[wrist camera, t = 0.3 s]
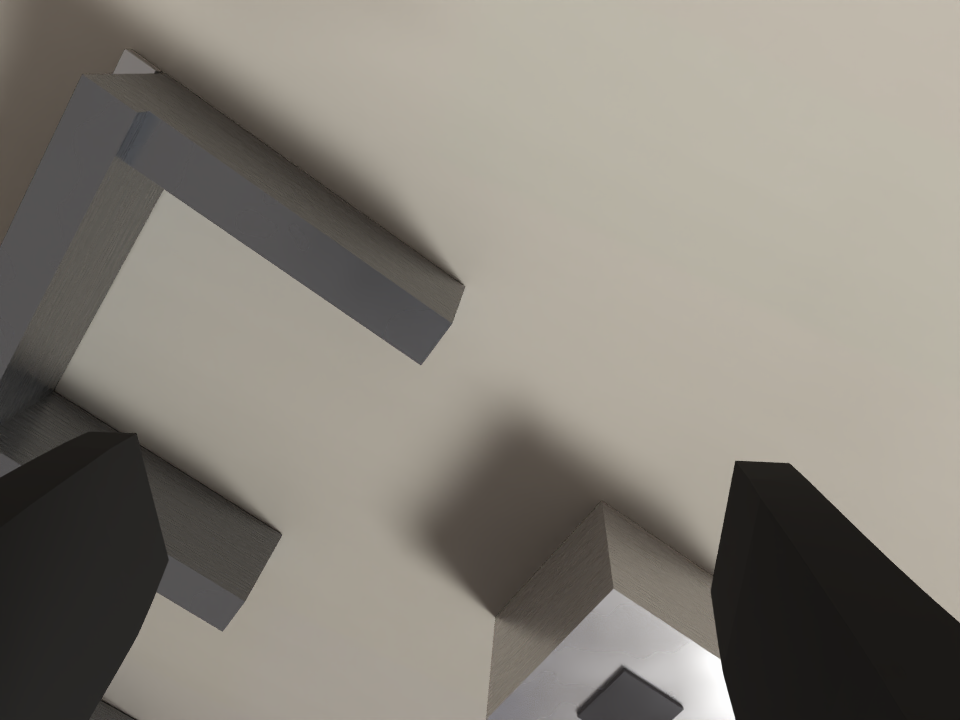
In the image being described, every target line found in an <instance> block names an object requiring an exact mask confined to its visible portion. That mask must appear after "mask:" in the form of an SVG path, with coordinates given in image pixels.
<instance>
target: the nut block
mask: <svg viewBox="0 0 960 720" xmlns="http://www.w3.org/2000/svg"><path fill="white" fill-rule="evenodd" d="M712 580H713V576H712V575H711V574H709V573H708V572H706V571H705V570H703V569H702V568H700V567H699V566H697V565H696V564H695V563H693V562H692V561H690V560H689V559H687V558H686V557H684V556H683V555H681V554H680V553H678V552H677V551H675V550H674V549H672V548H671V547H670V546H668V545H667V544H665V543H664V542H662V541H661V540H659V539H658V538H656V537H655V536H653V535H652V534H650V533H649V532H647V531H646V530H645V529H643V528H642V527H640V526H639V525H637V524H636V523H634V522H633V521H631V520H630V519H628V518H627V517H625V516H624V515H622V514H621V513H620V512H618V511H617V510H615V509H614V508H612V507H611V506H609V505H608V504H606V503H605V502H603V501H601V502H600V503H599V504H598V505H597V506H596V508H595V509H594V510H593V511H592V512H591V513H590V514H589V515H588V516H587V517H586V518H585V520H584V521H583V522H582V523H581V524H580V525H579V526H578V527H577V528H576V529H575V531H574V532H573V533H572V534H571V535H570V536H569V537H568V538H567V539H566V540H565V542H564V543H563V544H562V545H561V546H560V547H559V548H558V549H557V550H556V551H555V552H554V554H553V555H552V556H551V557H550V558H549V559H548V560H547V561H546V562H545V563H544V565H543V566H542V567H541V568H540V569H539V570H538V571H537V572H536V573H535V574H534V575H533V577H532V578H531V579H530V580H529V581H528V582H527V583H526V584H525V585H524V586H523V588H522V589H521V590H520V591H519V592H518V593H517V594H516V595H515V596H514V597H513V599H512V600H511V601H510V602H509V603H508V604H507V605H506V606H505V607H504V608H503V609H502V611H501V612H500V613H499V614H498V615H497V616H496V617H495V626H494V637H493V648H492V660H491V671H490V682H489V693H488V704H487V715H486V720H735V716H734V713H733V709H732V705H731V702H730V698H729V694H728V691H727V687H726V683H725V679H724V675H723V671H722V665H721V659H720V653H719V647H718V640H717V634H716V627H715V620H714V613H713V606H712V599H711V586H712Z"/></svg>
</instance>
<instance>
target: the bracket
mask: <svg viewBox="0 0 960 720" xmlns="http://www.w3.org/2000/svg"><path fill="white" fill-rule="evenodd" d="M163 189H165V190H166V191H168V192H169V193H171V194H172V195H174V196H175V197H176V198H178V199H179V200H181V201H182V202H184V203H185V204H187V205H188V206H190V207H191V208H192V209H194V210H195V211H197V212H198V213H200V214H201V215H203V216H204V217H206V218H207V219H208V220H210V221H211V222H213V223H214V224H216V225H217V226H219V227H220V228H222V229H223V230H225V231H226V232H227V233H229V234H230V235H232V236H233V237H235V238H236V239H238V240H239V241H241V242H242V243H243V244H245V245H246V246H248V247H249V248H251V249H252V250H254V251H255V252H257V253H258V254H259V255H261V256H262V257H264V258H265V259H267V260H268V261H270V262H271V263H273V264H274V265H275V266H277V267H278V268H280V269H281V270H283V271H284V272H286V273H287V274H289V275H290V276H292V277H293V278H294V279H296V280H297V281H299V282H300V283H302V284H303V285H305V286H306V287H308V288H309V289H310V290H312V291H313V292H315V293H316V294H318V295H319V296H321V297H322V298H324V299H325V300H326V301H328V302H329V303H331V304H332V305H334V306H335V307H337V308H338V309H340V310H341V311H342V312H344V313H345V314H347V315H348V316H350V317H351V318H353V319H354V320H356V321H357V322H359V323H360V324H361V325H363V326H364V327H366V328H367V329H369V330H370V331H372V332H373V333H375V334H376V335H377V336H379V337H380V338H382V339H383V340H385V341H386V342H388V343H389V344H391V345H392V346H393V347H395V348H396V349H398V350H399V351H401V352H402V353H404V354H405V355H407V356H408V357H409V358H411V359H412V360H414V361H415V362H417V363H418V364H420V365H422V363H423V362H424V361H425V359H426V358H427V357H428V355H429V354H430V353H431V351H432V350H433V349H434V347H435V346H436V345H437V343H438V342H439V340H440V339H441V338H442V336H443V335H444V334H445V332H446V331H447V330H448V328H449V327H450V326H451V324H452V322H453V320H454V317H455V314H456V311H457V308H458V306H459V303H460V300H461V297H462V294H463V292H464V289H465V286H463V285H462V284H461V283H459V282H458V281H456V280H455V279H454V278H452V277H451V276H449V275H448V274H447V273H445V272H444V271H442V270H441V269H440V268H438V267H437V266H435V265H434V264H433V263H431V262H430V261H428V260H427V259H425V258H424V257H423V256H421V255H420V254H418V253H417V252H416V251H414V250H413V249H411V248H410V247H409V246H407V245H406V244H404V243H403V242H402V241H400V240H399V239H397V238H396V237H395V236H393V235H392V234H390V233H389V232H388V231H386V230H385V229H383V228H382V227H381V226H379V225H378V224H376V223H375V222H374V221H372V220H371V219H369V218H368V217H366V216H365V215H364V214H362V213H361V212H359V211H358V210H357V209H355V208H354V207H352V206H351V205H350V204H348V203H347V202H345V201H344V200H343V199H341V198H340V197H338V196H337V195H336V194H334V193H333V192H331V191H330V190H329V189H327V188H326V187H324V186H323V185H322V184H320V183H319V182H317V181H316V180H314V179H313V178H312V177H310V176H309V175H307V174H306V173H305V172H303V171H302V170H300V169H299V168H298V167H296V166H295V165H293V164H292V163H291V162H289V161H288V160H286V159H285V158H284V157H282V156H281V155H279V154H278V153H277V152H275V151H274V150H272V149H271V148H270V147H268V146H267V145H265V144H264V143H262V142H261V141H260V140H258V139H257V138H255V137H254V136H253V135H251V134H250V133H248V132H247V131H246V130H244V129H243V128H241V127H240V126H239V125H237V124H236V123H234V122H233V121H232V120H230V119H229V118H227V117H226V116H225V115H223V114H222V113H220V112H219V111H218V110H216V109H215V108H213V107H212V106H211V105H209V104H208V103H206V102H205V101H203V100H202V99H201V98H199V97H198V96H196V95H195V94H194V93H192V92H191V91H189V90H188V89H187V88H185V87H184V86H182V85H181V84H180V83H178V82H177V81H175V80H174V79H173V78H171V77H170V76H168V75H167V74H166V73H161V70H160V69H159V68H157V67H156V66H154V65H153V64H151V63H150V62H149V61H147V60H146V59H144V58H143V57H142V56H140V55H139V54H137V53H136V52H135V51H133V50H132V49H125V50H124V52H123V54H122V56H121V58H120V60H119V62H118V64H117V66H116V68H115V70H114V72H113V74H82V76H81V78H80V80H79V82H78V84H77V86H76V88H75V91H74V93H73V95H72V97H71V99H70V101H69V103H68V105H67V107H66V109H65V112H64V114H63V116H62V118H61V120H60V122H59V124H58V126H57V128H56V131H55V133H54V135H53V137H52V139H51V141H50V143H49V145H48V147H47V149H46V152H45V154H44V156H43V158H42V160H41V162H40V164H39V166H38V168H37V170H36V173H35V175H34V177H33V179H32V181H31V183H30V185H29V187H28V189H27V191H26V194H25V196H24V198H23V200H22V202H21V204H20V206H19V208H18V210H17V213H16V215H15V217H14V219H13V221H12V223H11V225H10V227H9V229H8V231H7V234H6V236H5V238H4V240H3V242H2V244H1V246H0V477H2V476H4V475H5V474H7V473H9V472H11V471H13V470H15V469H16V468H18V467H20V466H22V465H24V464H25V463H27V462H29V461H31V460H33V459H35V458H36V457H38V456H40V455H42V454H44V453H46V452H48V451H50V450H51V449H53V448H55V447H57V446H59V445H61V444H63V443H65V442H67V441H69V440H71V439H74V438H76V437H78V436H80V435H82V434H85V433H87V432H111V433H119V432H118V431H116V430H114V429H113V428H111V427H110V426H108V425H106V424H105V423H103V422H102V421H100V420H98V419H97V418H95V417H94V416H92V415H91V414H89V413H87V412H86V411H84V410H83V409H81V408H79V407H78V406H76V405H75V404H73V403H71V402H70V401H68V400H67V399H65V398H63V397H62V396H60V395H59V394H57V393H55V392H54V389H55V387H56V385H57V384H58V382H59V380H60V378H61V376H62V374H63V373H64V371H65V369H66V367H67V365H68V363H69V362H70V360H71V358H72V356H73V354H74V352H75V351H76V349H77V347H78V345H79V343H80V341H81V340H82V338H83V336H84V334H85V332H86V330H87V329H88V327H89V325H90V323H91V321H92V319H93V318H94V316H95V314H96V312H97V310H98V308H99V307H100V305H101V303H102V301H103V299H104V297H105V296H106V294H107V292H108V290H109V288H110V286H111V285H112V283H113V281H114V279H115V277H116V275H117V274H118V272H119V270H120V268H121V266H122V264H123V263H124V261H125V259H126V257H127V255H128V253H129V252H130V250H131V248H132V246H133V244H134V242H135V241H136V239H137V237H138V235H139V233H140V231H141V230H142V228H143V226H144V224H145V222H146V220H147V219H148V217H149V215H150V213H151V211H152V209H153V208H154V206H155V204H156V202H157V200H158V198H159V197H160V195H161V193H162V191H163ZM139 446H140V445H139ZM140 450H141V453H142V457H143V461H144V465H145V469H146V473H147V477H148V481H149V485H150V488H151V492H152V496H153V500H154V504H155V508H156V512H157V516H158V520H159V523H160V527H161V531H162V535H163V539H164V543H165V547H166V551H167V554H168V558H169V561H168V564H167V566H166V569H165V571H164V574H163V576H162V579H161V581H160V584H159V586H158V589H157V591H156V592H157V593H159V594H161V595H162V596H164V597H166V598H167V599H169V600H171V601H172V602H174V603H176V604H177V605H179V606H181V607H182V608H184V609H186V610H187V611H189V612H191V613H192V614H194V615H196V616H197V617H199V618H201V619H202V620H204V621H206V622H207V623H209V624H211V625H212V626H214V627H216V628H217V629H219V630H221V631H222V632H223V630H224V629H225V628H226V626H227V625H228V624H229V622H230V621H231V620H232V618H233V617H234V616H235V614H236V613H237V612H238V610H239V609H240V608H241V606H242V605H243V604H244V602H245V601H246V599H247V597H248V595H249V594H250V592H251V590H252V588H253V586H254V585H255V583H256V581H257V579H258V577H259V576H260V574H261V572H262V570H263V569H264V567H265V565H266V563H267V561H268V560H269V558H270V556H271V554H272V552H273V551H274V549H275V547H276V545H277V543H278V542H279V540H280V538H281V536H282V534H280V533H278V532H277V531H275V530H274V529H272V528H271V527H269V526H267V525H266V524H264V523H263V522H261V521H259V520H258V519H256V518H255V517H253V516H251V515H250V514H248V513H247V512H245V511H243V510H242V509H240V508H239V507H237V506H235V505H234V504H232V503H231V502H229V501H228V500H226V499H224V498H223V497H221V496H220V495H218V494H216V493H215V492H213V491H212V490H210V489H208V488H207V487H205V486H204V485H202V484H200V483H199V482H197V481H196V480H194V479H192V478H191V477H189V476H188V475H186V474H184V473H183V472H181V471H180V470H178V469H177V468H175V467H173V466H172V465H170V464H169V463H167V462H165V461H164V460H162V459H161V458H159V457H157V456H156V455H154V454H153V453H151V452H149V451H148V450H146V449H145V448H143V447H141V446H140ZM89 720H134V719H132V718H131V717H129V716H127V715H125V714H124V713H122V712H120V711H118V710H117V709H115V708H113V707H111V706H109V705H108V704H106V703H104V702H102V701H101V700H100V702H99V704H98V705H97V707H96V709H95V710H94V712H93V714H92V716H91V717H90V719H89Z"/></svg>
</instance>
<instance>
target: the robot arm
mask: <svg viewBox="0 0 960 720" xmlns="http://www.w3.org/2000/svg"><path fill="white" fill-rule="evenodd" d="M168 561H169V558H168V554H167V551H166V547H165V543H164V539H163V535H162V531H161V527H160V523H159V520H158V516H157V512H156V508H155V504H154V500H153V496H152V492H151V488H150V485H149V481H148V477H147V473H146V469H145V465H144V461H143V457H142V453H141V450H140V446H139V442H138V438H137V434H133V433H111V432H87V433H85V434H82V435H80V436H78V437H76V438H74V439H71V440H69V441H67V442H65V443H63V444H61V445H59V446H57V447H55V448H53V449H51V450H50V451H48V452H46V453H44V454H42V455H40V456H38V457H36V458H35V459H33V460H31V461H29V462H27V463H25V464H24V465H22V466H20V467H18V468H16V469H15V470H13V471H11V472H9V473H7V474H5V475H4V476H2V477H0V720H89V719H90V717H91V716H92V714H93V712H94V710H95V709H96V707H97V705H98V704H99V702H100V700H101V699H102V697H103V695H104V693H105V692H106V690H107V688H108V686H109V685H110V683H111V681H112V679H113V678H114V676H115V674H116V673H117V671H118V669H119V667H120V666H121V664H122V662H123V660H124V659H125V657H126V655H127V653H128V652H129V650H130V648H131V646H132V644H133V643H134V641H135V639H136V637H137V635H138V633H139V631H140V629H141V627H142V624H143V622H144V620H145V617H146V615H147V613H148V611H149V608H150V606H151V604H152V601H153V599H154V597H155V594H156V591H157V589H158V586H159V584H160V581H161V579H162V576H163V574H164V571H165V569H166V566H167V564H168ZM711 599H712V606H713V613H714V620H715V627H716V634H717V640H718V647H719V653H720V659H721V665H722V671H723V675H724V679H725V683H726V687H727V691H728V694H729V698H730V702H731V705H732V709H733V713H734V716H735V720H960V623H959V622H958V621H957V620H956V619H955V618H954V617H952V616H951V615H950V614H949V613H948V612H947V611H946V610H944V609H943V608H942V607H941V606H940V605H939V604H938V603H937V602H935V601H934V600H933V599H932V598H931V597H930V596H929V595H928V594H927V593H925V592H924V591H923V590H922V589H921V588H920V587H919V586H918V585H917V584H915V583H914V582H913V581H912V580H911V579H910V578H909V577H908V576H907V575H906V574H905V573H904V572H903V571H901V570H900V569H899V568H898V567H897V566H896V565H895V564H894V563H893V562H892V561H891V560H890V559H889V558H888V557H886V556H885V555H884V554H883V553H882V552H881V551H880V550H879V549H878V548H877V547H876V546H875V545H874V544H873V543H872V542H871V541H870V540H869V539H868V538H867V537H865V536H864V535H863V534H862V533H861V532H860V531H859V530H858V529H857V528H856V527H855V526H854V525H853V524H852V523H851V522H850V521H849V520H848V519H847V518H846V517H845V516H844V515H843V514H842V513H841V512H840V511H839V510H838V509H837V508H836V507H835V506H834V505H833V504H832V503H831V502H830V501H828V500H827V499H826V498H825V497H824V496H823V495H822V494H821V493H820V492H819V491H818V490H817V489H816V488H815V487H814V486H813V485H812V484H811V483H810V482H809V481H808V480H807V479H806V478H805V477H804V476H803V475H802V474H801V473H800V472H798V471H797V470H796V469H795V468H794V467H793V466H792V465H791V464H790V463H773V462H751V461H735V465H734V471H733V476H732V481H731V486H730V492H729V497H728V502H727V507H726V512H725V518H724V523H723V528H722V533H721V539H720V544H719V549H718V554H717V559H716V565H715V570H714V575H713V580H712V586H711Z"/></svg>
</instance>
